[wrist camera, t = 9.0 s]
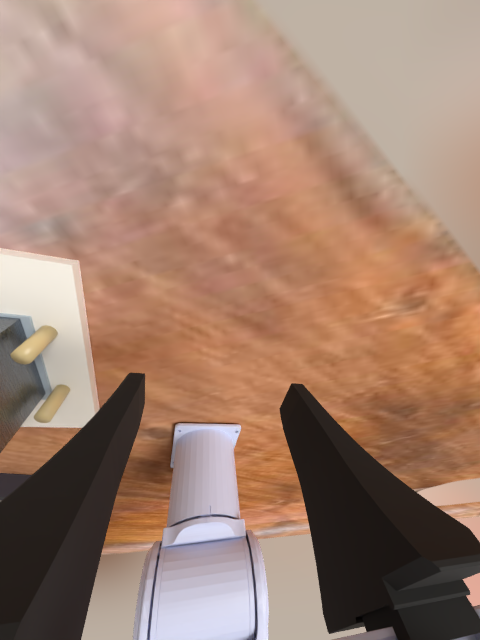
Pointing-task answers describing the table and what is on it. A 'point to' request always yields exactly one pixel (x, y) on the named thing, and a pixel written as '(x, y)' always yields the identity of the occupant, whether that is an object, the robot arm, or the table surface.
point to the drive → (15, 381)
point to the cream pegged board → (51, 334)
